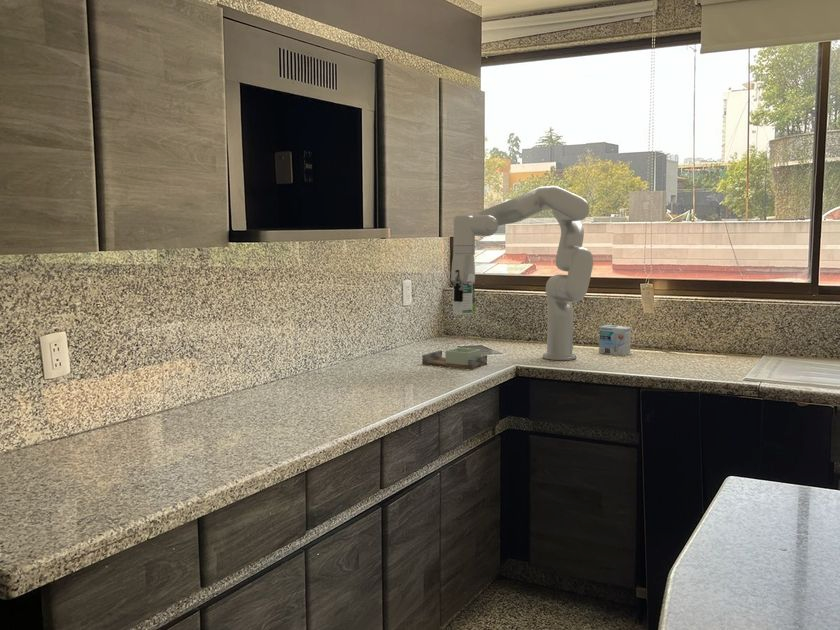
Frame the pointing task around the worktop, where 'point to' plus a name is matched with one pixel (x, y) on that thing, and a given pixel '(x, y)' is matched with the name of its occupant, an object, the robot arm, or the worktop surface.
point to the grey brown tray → (438, 360)
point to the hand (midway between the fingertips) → (463, 300)
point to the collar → (461, 355)
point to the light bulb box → (615, 339)
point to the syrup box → (466, 298)
